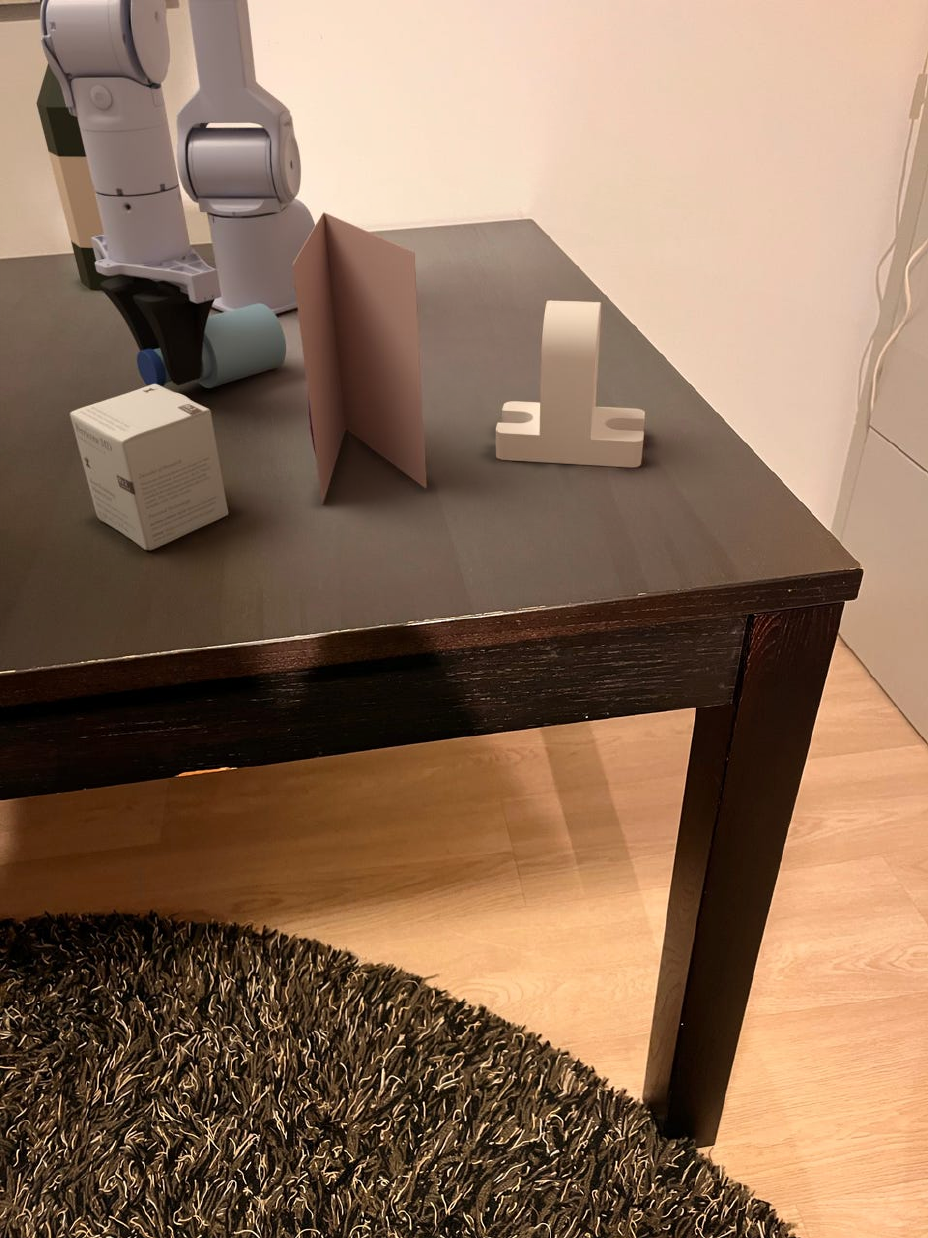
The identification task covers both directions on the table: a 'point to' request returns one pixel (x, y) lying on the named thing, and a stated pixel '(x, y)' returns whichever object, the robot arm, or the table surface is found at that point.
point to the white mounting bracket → (570, 401)
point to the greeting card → (360, 345)
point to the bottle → (228, 348)
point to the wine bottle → (71, 177)
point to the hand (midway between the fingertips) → (175, 374)
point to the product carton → (151, 464)
